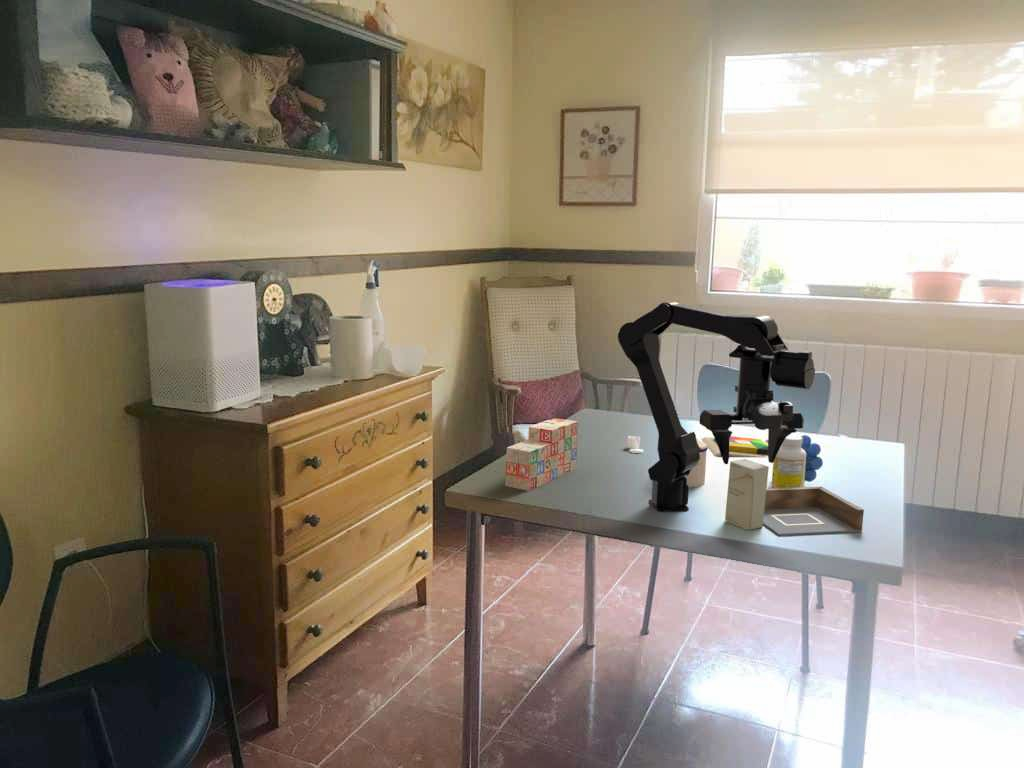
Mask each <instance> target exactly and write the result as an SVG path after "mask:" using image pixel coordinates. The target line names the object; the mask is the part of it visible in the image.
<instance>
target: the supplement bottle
mask: <svg viewBox="0 0 1024 768" xmlns="http://www.w3.org/2000/svg"><path fill="white" fill-rule="evenodd" d="M802 442H803V438H802V437H801V435H795V434H790V435H788V436H787V437H786V438H785V440H784V441H783V443H782V445H781V447H780V449H779V451H778V453H777V455H776V457H775V459H774V462H773V463H772V474H771V475H772V476H771V488H797V487H805V482H804V479H805V465H806V452H805V450H804V449H802V448H801V445H802Z"/></svg>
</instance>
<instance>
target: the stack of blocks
mask: <svg viewBox="0 0 1024 768" xmlns="http://www.w3.org/2000/svg"><path fill="white" fill-rule="evenodd" d="M578 423H579V422H578V421H576V420H570V419H563V418H552V419H547V420H544V421H541V422H538V423H535V424H532V425H530V426H528V436H527V437H528V438H527V440H524V441H521V442H517V443H516V444H513V445H510V446H508V447H506V461H505V487H510V488H514V489H519V490H523V491H527V492H529V491H531V490H533V489H535V488H538V487H540V486H542V485H545V484H546V483H548V482H550V481H552V480H555V479H557V478H560V477H561V476H563V475H565V474H567V473H570V472H572V471H574V470H576V469H577V463H578V462H577V461H578V460H577V456H578V455H577V453H578V438H579V437H578V435H579V434H578V427H579V425H578Z"/></svg>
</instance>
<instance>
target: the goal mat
mask: <svg viewBox="0 0 1024 768" xmlns="http://www.w3.org/2000/svg"><path fill="white" fill-rule="evenodd" d="M763 526H764V527H766V528H767V529H768V530H770V532H773V533H774V535H777V536H778V537H785V536H786V537H787V536H802V535H803V536H804V535H809V536H810V535H823V534H825V535H829V534H847V533H848V534H849V533H862V532H863V529H862V530H855V529H853V528H852V527H850V526H848V525H847V524H845V523H843V522H842V521H840V520H838V519H837V518H835V517H833V516H832V515H830V514H828V513H826V512H825V511H823V510H821V509H820V508H818V507H811V508H787V509H764V518H763Z"/></svg>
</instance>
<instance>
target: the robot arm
mask: <svg viewBox="0 0 1024 768" xmlns="http://www.w3.org/2000/svg"><path fill="white" fill-rule="evenodd" d="M672 325H678V326H682V327H687V328H689V329H690V328H691V329H694V330H695V329H696V330H700V331H704V332H707V333H713V334H717V335H721V336H723V337H725V338H727V339H728V340H730V341H732V342H734V343H736V344H738V345H737V346H736V348H735V349H734V350H733V351H731V352H729V354H728V357H729V358H735V359H739V368H738V371H739V373H738V382H737V383H738V385H735V386H734V391H735V392H737V400H736V406H733V413H736V414H733V413H732V414H731V413H728V412H726V411H724V410H722V409H703V411H702V412H701V413H700V414H699V425H701V426H703V428H704V427H705V429H707V430H708V431H710V432H711V433H712V436H713V438H715V440H716V442H717V445H718V448H719V450H720V453H721V456H720V457H721V459H722V462H723V464H725V465H728V464H729V460H730V456H729V438H730V436H732V434H733V431H731V430H729V429H730V428H731V427H732V425H754V427H755V428H756V429H757V430H760V431H765V430H768V432H767V433H768V434H767V436H768V438H767V440H768V443H767V445H768V455H767V459H768V463H770V464H773V462H774V459H775V457H776V455H777V453H778V451H779V449H780V447H781V445H782V443H783V441H784V440H785V438H786V437H787V436H788V435H792V434H793V433H797V429H804V422H805V419H804V416H803V414H802V413H801V412H799V411H797V410H794V404H793V403H792V402H791V401H780V402H775V400H774V391H773V390H772V389H771V381H772V382H774V383H775V386H778V387H787V388H793V389H802V390H810V389H811V387H812V385H813V384H814V380H815V374H816V368H815V364H814V359H813V358H812V357H813V352H812V351H807V350H805V351H804V350H802V351H797V350H796V351H795V350H789V348H788V347H787V345H786V344H785V341H783V339H782V337H781V336H780V334H779V332H778V331H779V328H778V325H777V323H776V321H775V319H774V318H772V317H771V316H769V315H763V314H760V315H759V314H757V315H756V314H747V315H746V314H728V313H723V312H718V311H714V310H710V309H709V310H708V309H705V308H699V307H694V306H691V305H685V304H681V303H678V302H677V301H668V302H667V301H665V302H662V303H660V304H659V305H657V306H656V307H655V308H654V309H652V310H650V311H649V312H647V313H646V314H643V315H642V316H640V317H638V318H637V319H636V320H634V321H631V322H626V323H624V324H622V326H621V327H620V328H619V331H618V333H617V341H618V344H619V345H620V347H621V349H622V351H623V353H624V354H625V356H626V357H627V359H629V361H630V362H631V363H632V364H633V365H634V367H635V369H636V370H637V373H638V376H639V377H638V378H639V379H640V382H641V385H642V389H643V391H644V394H645V397H646V400H647V404H648V407H649V409H650V411H651V415H652V417H653V420H654V423H655V426H656V430H657V433H658V439H657V453H658V459H659V460H658V461H657V462H655V463H654V464H653V465H652V466H651V467H649V468H648V469H647V473H648V477H649V480H651V481H652V486H651V487H652V488H651V499H648V503H649V504H650V505H651V506H652V507H653V508H654V509H655V510H656V511H658V512H675V511H676V512H679V511H689V506H688V504H689V489H690V487H689V486H688V485H687V479H686V478H685V477H684V476H686V475H689V474H690V471H691V469H692V468H694V467H695V466H696V465H697V464H698V461H699V460H700V454H699V451H700V450H701V448H700V447H699V446H698V443H697V440H696V439H697V435H696V433H695V431H691V432H690V431H689V432H690V433H687V432H688V431H687V430H685V428H684V427H683V426H682V423H681V421H680V418H679V416H678V413H677V410H676V407H675V404H674V401H673V398H672V396H671V391H670V389H669V386H668V383H667V380H666V377H665V375H664V372H663V369H662V366H661V363H660V360H659V359H660V347H661V343H660V339H659V336H661V334H664V332H666V331H667V330H668V329H669V328H670V327H671V326H672Z"/></svg>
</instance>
